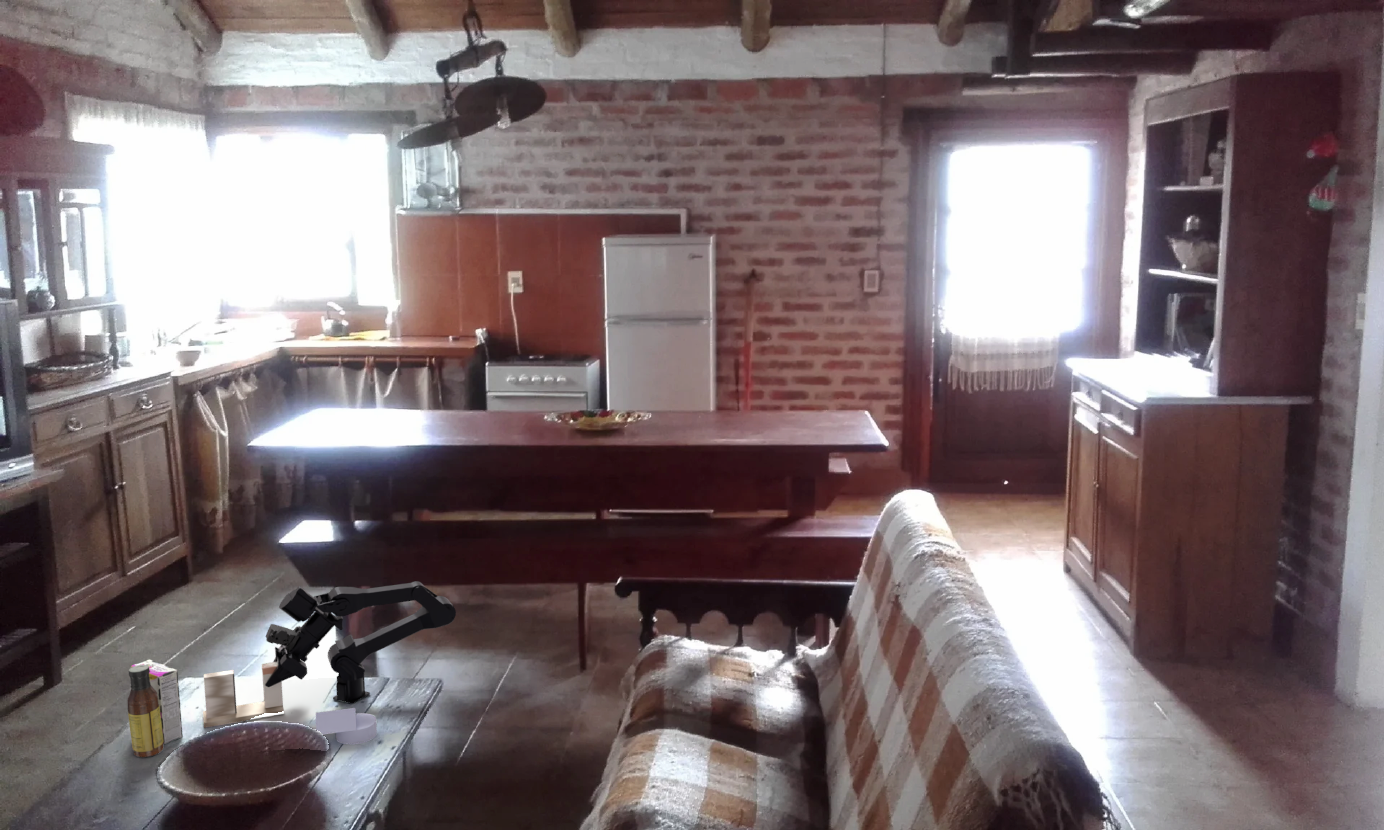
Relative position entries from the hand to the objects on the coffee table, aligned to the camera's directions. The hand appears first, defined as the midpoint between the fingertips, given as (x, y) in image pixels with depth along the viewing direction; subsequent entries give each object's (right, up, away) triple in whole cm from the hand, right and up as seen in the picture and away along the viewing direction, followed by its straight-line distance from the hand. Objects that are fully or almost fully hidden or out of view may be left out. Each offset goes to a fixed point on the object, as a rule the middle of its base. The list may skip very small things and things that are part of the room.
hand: (266, 683), depth 262 cm
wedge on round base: (+23, -10, -12) cm, 28 cm away
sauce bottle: (-18, -11, -20) cm, 29 cm away
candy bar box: (-20, -9, -12) cm, 25 cm away
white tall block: (+1, -5, +2) cm, 6 cm away
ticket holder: (-5, -7, -1) cm, 9 cm away
